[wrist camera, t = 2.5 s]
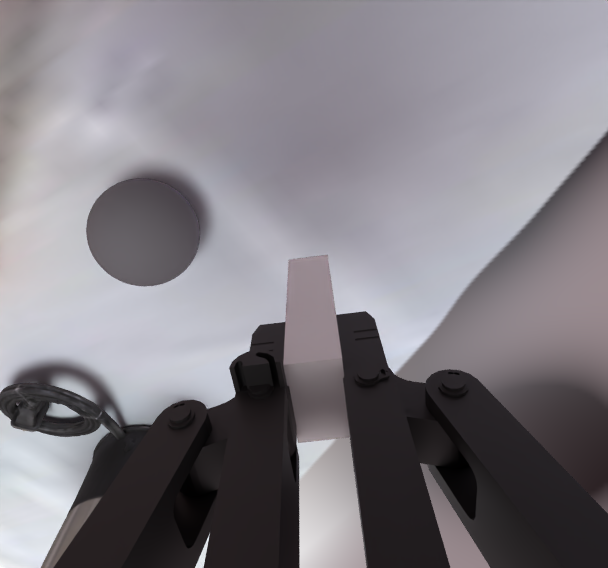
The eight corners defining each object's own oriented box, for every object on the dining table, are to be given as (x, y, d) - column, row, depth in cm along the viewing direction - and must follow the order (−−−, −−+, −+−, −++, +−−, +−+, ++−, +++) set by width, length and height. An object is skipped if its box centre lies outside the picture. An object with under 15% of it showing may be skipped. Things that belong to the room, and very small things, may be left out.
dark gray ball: (195, 160, 27) (168, 189, 21) (218, 253, 29) (199, 299, 24) (97, 174, 27) (46, 205, 22) (128, 264, 30) (90, 311, 24)
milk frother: (194, 507, 41) (144, 723, 28) (14, 476, 39) (-132, 692, 26) (224, 391, 35) (177, 599, 22) (10, 346, 33) (-184, 546, 20)
